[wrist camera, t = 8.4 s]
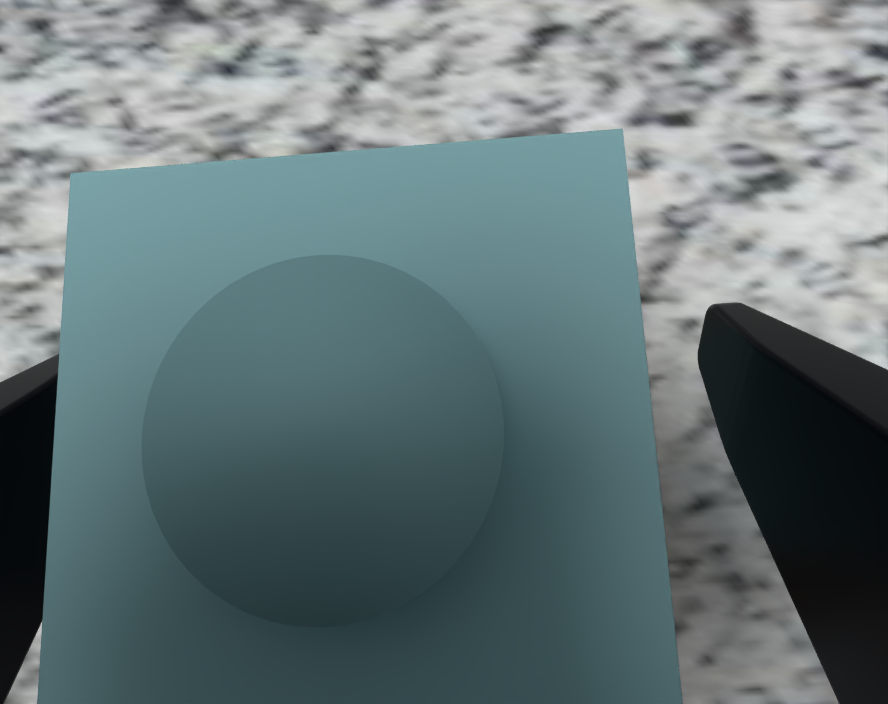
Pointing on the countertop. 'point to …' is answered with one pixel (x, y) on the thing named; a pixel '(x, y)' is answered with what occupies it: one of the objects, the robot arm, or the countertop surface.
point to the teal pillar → (357, 434)
